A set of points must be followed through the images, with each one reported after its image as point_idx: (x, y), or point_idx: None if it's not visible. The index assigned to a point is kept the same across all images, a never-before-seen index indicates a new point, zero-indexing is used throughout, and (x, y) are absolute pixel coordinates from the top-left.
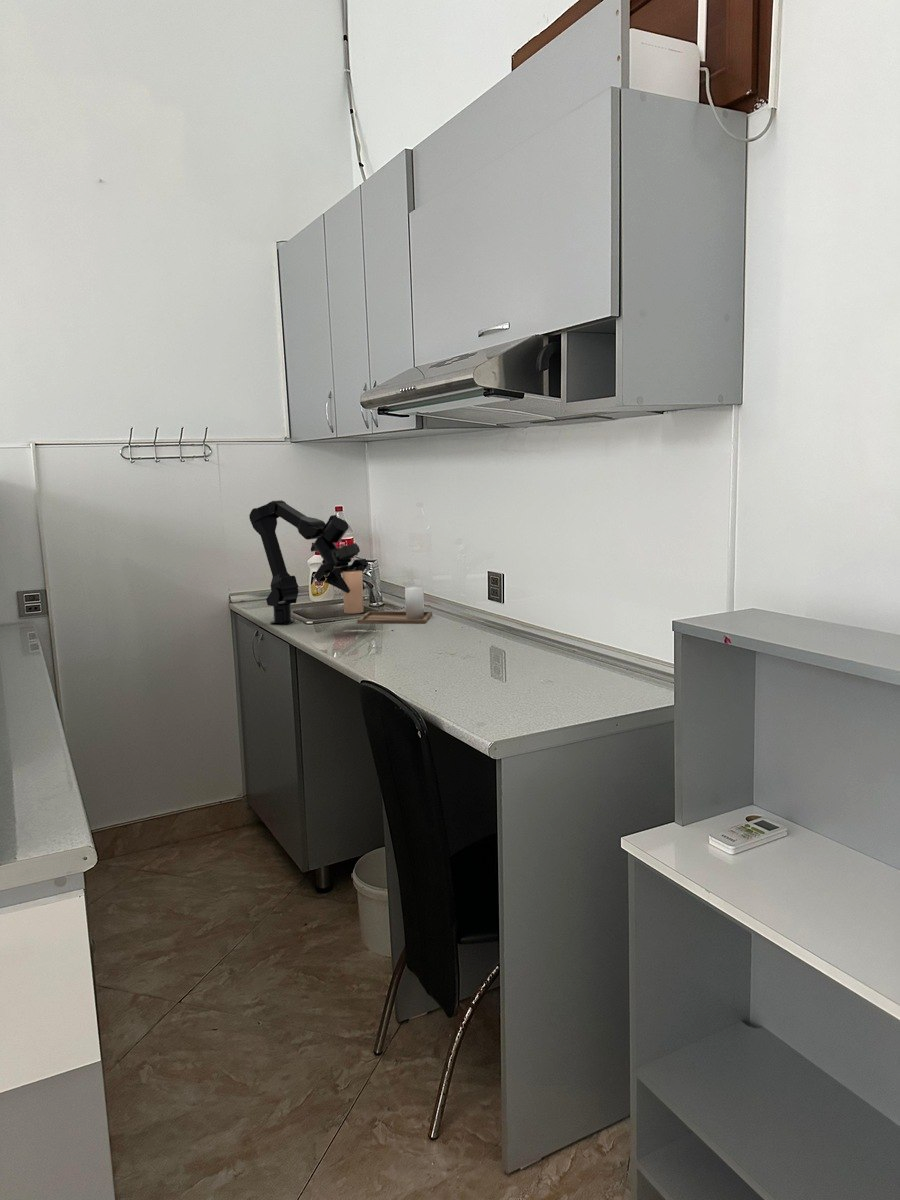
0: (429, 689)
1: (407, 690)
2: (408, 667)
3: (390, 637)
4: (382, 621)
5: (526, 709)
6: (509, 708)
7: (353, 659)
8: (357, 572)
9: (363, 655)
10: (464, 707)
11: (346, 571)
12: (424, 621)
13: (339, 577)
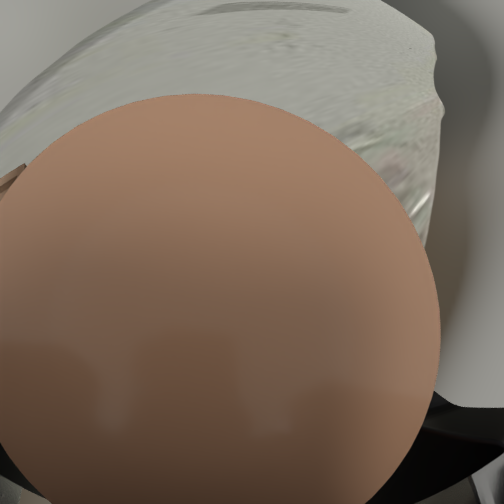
0: (412, 52)
1: (428, 66)
2: (383, 70)
3: None
4: None
5: (387, 12)
6: (393, 18)
7: (416, 152)
8: (293, 116)
9: (390, 147)
10: (415, 36)
11: (312, 468)
12: (25, 165)
13: None
